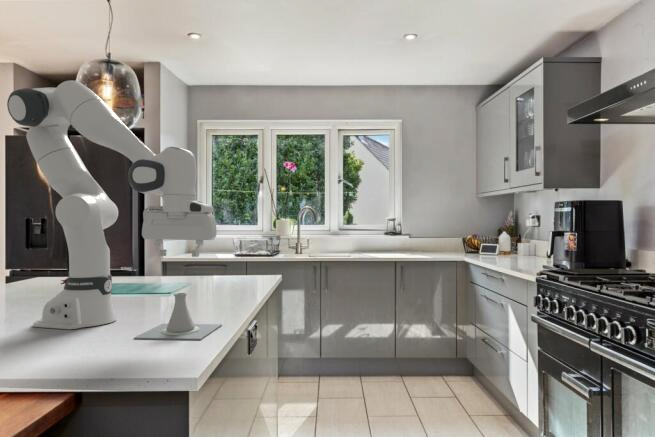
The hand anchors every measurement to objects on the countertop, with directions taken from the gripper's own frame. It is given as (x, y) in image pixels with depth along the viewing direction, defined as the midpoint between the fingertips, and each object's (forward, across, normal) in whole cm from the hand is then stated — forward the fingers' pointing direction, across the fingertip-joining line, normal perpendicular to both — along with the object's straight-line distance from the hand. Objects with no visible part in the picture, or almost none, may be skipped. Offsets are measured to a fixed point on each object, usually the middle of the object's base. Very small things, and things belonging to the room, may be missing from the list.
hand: (178, 256), depth 124 cm
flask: (+20, +1, 0) cm, 20 cm away
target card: (+21, +1, 0) cm, 21 cm away
